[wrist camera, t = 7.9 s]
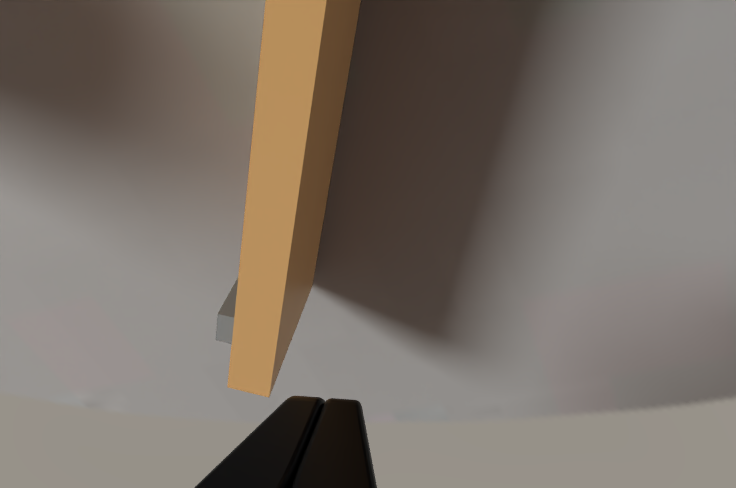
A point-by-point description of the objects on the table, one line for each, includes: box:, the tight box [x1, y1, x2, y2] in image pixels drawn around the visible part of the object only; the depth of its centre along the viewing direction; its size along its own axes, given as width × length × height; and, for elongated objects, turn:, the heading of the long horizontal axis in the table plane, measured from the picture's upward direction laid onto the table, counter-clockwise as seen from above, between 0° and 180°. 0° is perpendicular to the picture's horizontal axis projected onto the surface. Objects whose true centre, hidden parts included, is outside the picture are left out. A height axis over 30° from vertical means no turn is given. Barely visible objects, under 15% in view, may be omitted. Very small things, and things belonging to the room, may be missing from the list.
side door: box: [216, 0, 361, 397], centre depth 14 cm, size 15×2×5 cm, turn 169°
